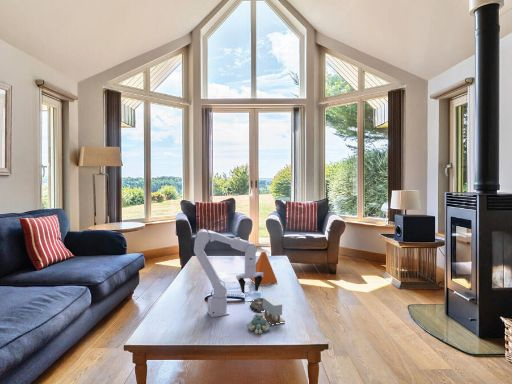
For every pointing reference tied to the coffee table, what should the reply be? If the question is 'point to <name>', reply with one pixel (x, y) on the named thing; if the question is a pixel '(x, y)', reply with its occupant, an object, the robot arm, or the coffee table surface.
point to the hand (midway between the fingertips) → (249, 291)
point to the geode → (257, 305)
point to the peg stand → (272, 318)
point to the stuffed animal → (258, 324)
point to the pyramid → (265, 269)
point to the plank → (272, 306)
